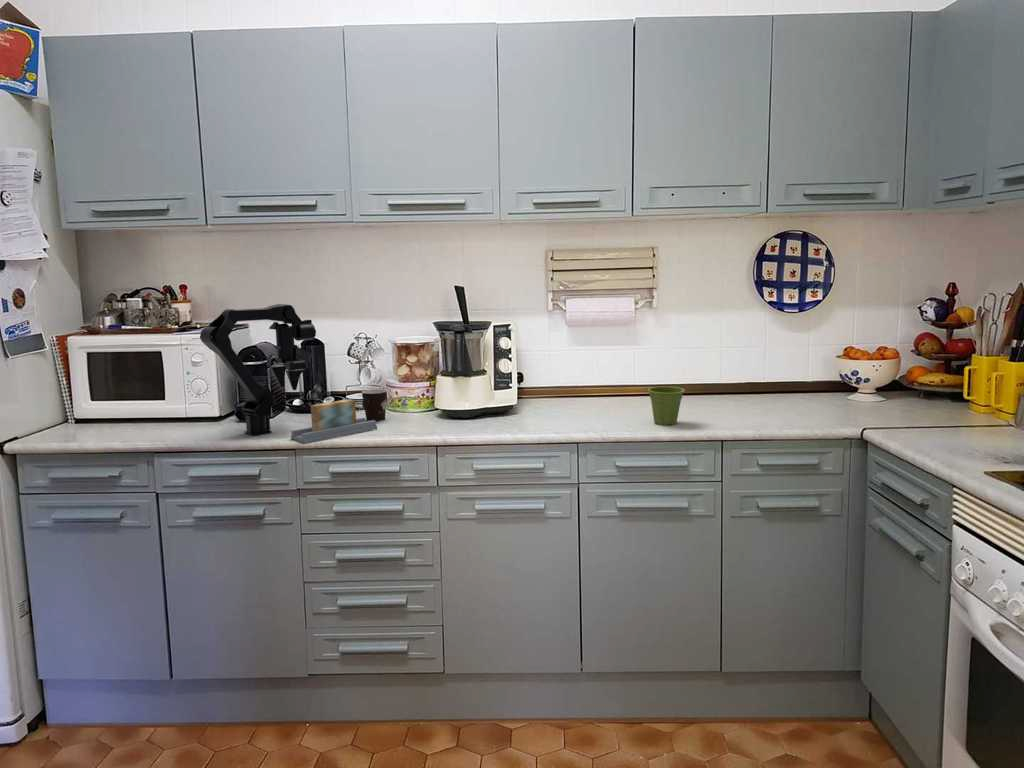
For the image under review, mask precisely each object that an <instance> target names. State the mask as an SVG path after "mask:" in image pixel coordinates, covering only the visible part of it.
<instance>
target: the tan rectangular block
mask: <svg viewBox="0 0 1024 768" xmlns="http://www.w3.org/2000/svg"><path fill="white" fill-rule="evenodd" d="M310 416H311V417H310V418H311V427H312V432H313V431H318V430H324V429H329V428H334V427H340V426H345V425H350V424H356V419H357V412H356V400H354V399H350V398H348V399H341V400H335V401H329V402H322V403H316V404H310Z"/></svg>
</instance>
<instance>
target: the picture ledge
mask: <svg viewBox="0 0 1024 768" xmlns="http://www.w3.org/2000/svg"><path fill="white" fill-rule="evenodd" d="M373 429H376V430H378V425H377V422H376V421H375V420H372V421H367V420H366V417H356V424H350V425H345V426H340V427H334V428H329V429H324V430H318V431H313V432H312V426H309V427H302V428H298V429H293V430H291V431H290V432H291V433H290V434H291V435H290V439H291V438H292V439H294V440H293V441H296V442H298V443H299V442H300V443H302V444H310V443H315V442H320V441H324V440H325V441H326V440H330V439H329V438H331V439H333V438H332V437H336V438H338V437H337V436H341V437H344V436H343V435H346V436H349V435H348V434H351V435H353V434H352V433H356V434H358V433H357V432H361V433H363V432H362V431H366V432H369V431H368V430H371V431H374V430H373ZM292 439H291V440H292Z"/></svg>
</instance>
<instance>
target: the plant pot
mask: <svg viewBox="0 0 1024 768" xmlns="http://www.w3.org/2000/svg"><path fill="white" fill-rule="evenodd" d="M647 391H648V392H649V393H648V394H649V398H650V402H651V408H652V416H653V422H654V423H655V424H657V425H660V426H669V425H676V424H677V423H678V417H679V412H680V407H681V401H682V399H683V394H684V392H685V391H686V389H684V388H681V387H677V386H654V387H653V386H652V387H649V388H647Z"/></svg>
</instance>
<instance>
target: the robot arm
mask: <svg viewBox="0 0 1024 768" xmlns="http://www.w3.org/2000/svg"><path fill="white" fill-rule="evenodd" d="M248 321H249V322H250V321H272V322H273V323H272V324H271V325H270V326H269V328H268V329H269V330H275V339H276V340H275V341H276V344H275V345H274V349H276V356H271V357H268V358H267V359H266V366H268V368H269V370H270V371H271V372H272V374H273V376H274V377H275V379H276V381H277V383H278V385H279V386H280V387H281V388H284V387H285V382H286V376H287V379H288V381H289V384H290V386H291V389H292V391H297V388H298V384H299V380H300V377H301V374H302V373H304V372H305V371H306V370H307V369H308V368H309V367H308V366H309V365H308V363H310V362H311V359H312V356H313V352H309V351H305V350H304V348H301V347H299V346H298V345H297V344H295V341H297V342H299V341H309V340H314V339H315V337H316V336H317V329H316V327H315V325H314V323H312V319H304V320H301V318H300V317H299V315H298V314H297V313H296V309H295V308H294V307H293V305H291V304H288V303H287V304H286V303H285V304H284V303H283V304H282V303H276V304H273V305H268V306H267V307H262V308H259V307H258V308H243V309H242V308H240V309H231V308H227V309H225V310H223V311H222V312H221V313H220V315H219V316H217V317H216V318H215V319H214V320H213V321H211V322H210V323H209V325H208V326H205V327H203V328H202V330H201V332H200V336H199V339H200V341H201V342H202V344H204V345H205V347H207V348H208V349H209V350H210V351H212V352H214V354H216V355H217V356H219V358H220V359H221V360H222V361H223V363H224V365H225V366H226V367H227V368H228V370H229V371H230V372H231V374H232V375H233V376H234V378H235V380H237V382H238V383H239V385H241V387H242V389H243V390H244V397H245V399H246V401H245V403H244V404H243V406H242V407H241V411H242V413H243V415H245V425H246V427H245V428H246V430H245V431H244V433H245V434H247V435H250V436H259V435H263V434H264V435H265V434H270V433H272V430H271V423H270V422H271V421H270V419H271V418H270V417H269V416H270V414H271V411H272V407H273V405H274V402H275V397H274V392H272V391H271V390H270V387H269V386H268V384H267V383H261V382H257V380H256V379H255V377H254V376H253V374H251V373H250V370H249V369H248V368H247V367H246V366H245V364H244V363H243V361H242V360H241V358H240V356H238V354H237V353H236V351H234V349H233V346H232V341H231V339H230V335H231V333H232V332H233V330H234V328H235V325H236V324H237V322H248ZM279 322H281V323H279Z"/></svg>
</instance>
